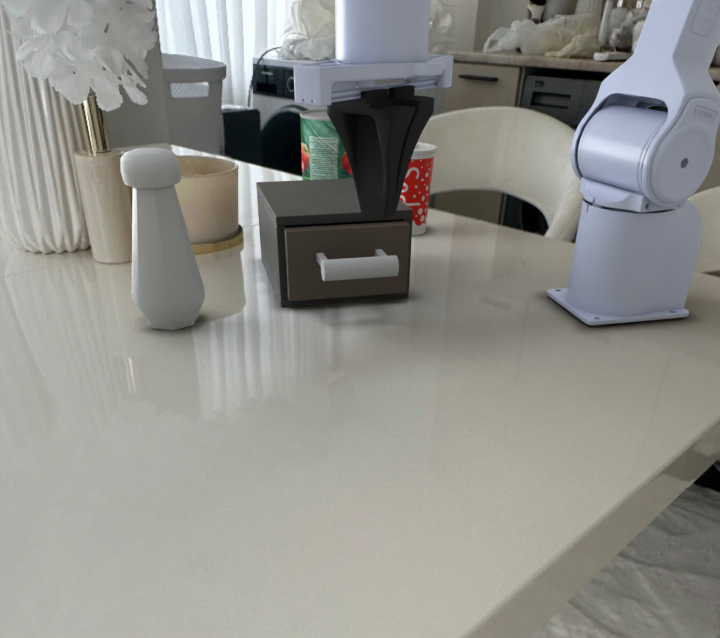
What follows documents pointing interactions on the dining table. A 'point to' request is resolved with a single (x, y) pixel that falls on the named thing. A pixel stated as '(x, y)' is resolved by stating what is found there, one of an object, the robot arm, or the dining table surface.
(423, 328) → the dining table surface
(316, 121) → the canned tomato
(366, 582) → the dining table surface
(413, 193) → the beverage cup
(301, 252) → the pod drawer
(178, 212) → the salt shaker
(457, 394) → the dining table surface
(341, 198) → the open desk drawer box
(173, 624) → the dining table surface
